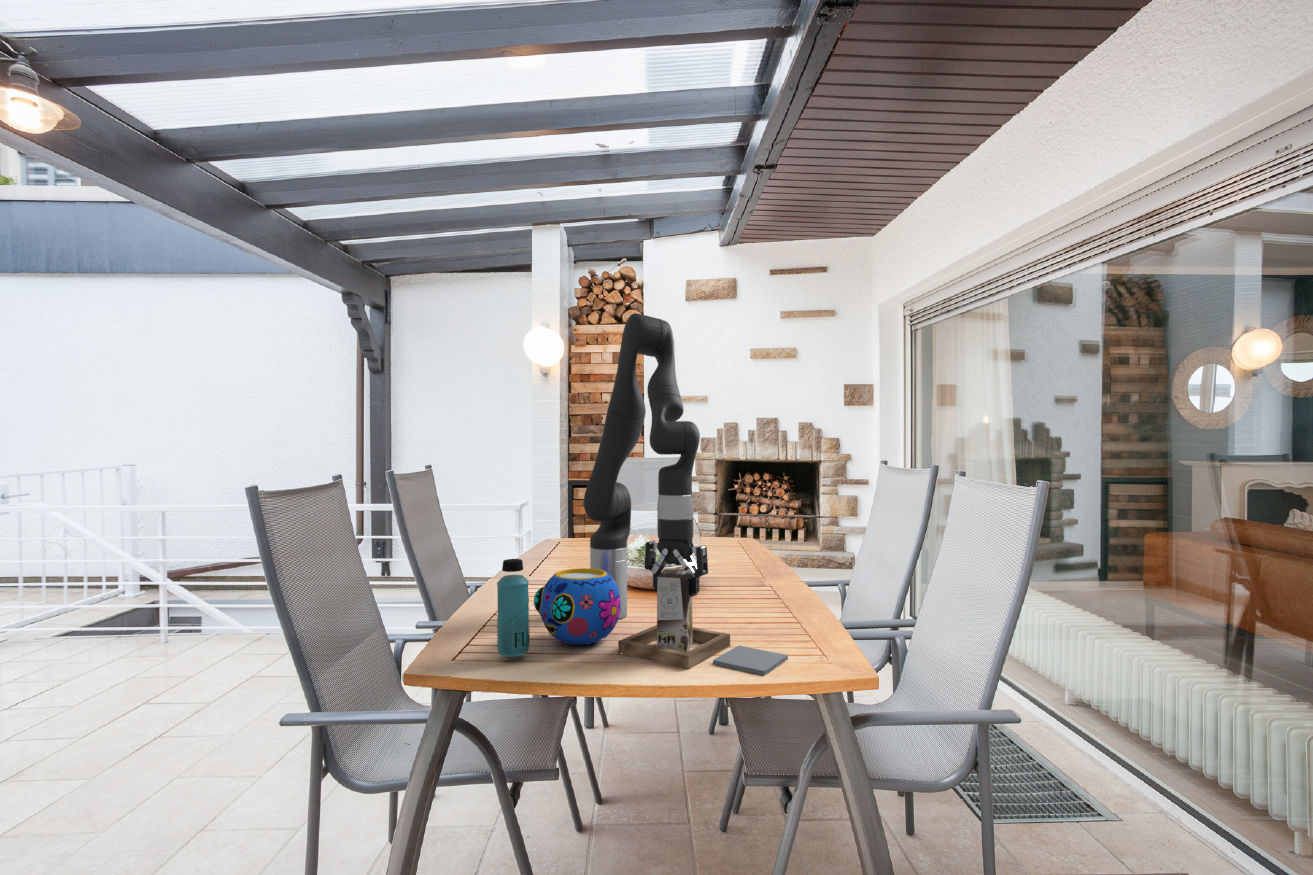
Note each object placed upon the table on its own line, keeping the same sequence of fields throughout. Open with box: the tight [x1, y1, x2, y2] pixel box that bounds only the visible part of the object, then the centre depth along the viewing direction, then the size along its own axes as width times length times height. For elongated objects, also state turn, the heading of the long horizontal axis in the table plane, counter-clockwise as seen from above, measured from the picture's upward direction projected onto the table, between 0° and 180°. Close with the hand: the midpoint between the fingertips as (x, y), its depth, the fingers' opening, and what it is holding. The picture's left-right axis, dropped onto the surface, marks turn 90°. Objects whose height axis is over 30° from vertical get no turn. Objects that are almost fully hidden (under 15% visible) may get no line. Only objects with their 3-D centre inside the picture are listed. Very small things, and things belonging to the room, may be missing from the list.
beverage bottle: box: [496, 558, 531, 657], centre depth 131 cm, size 6×7×20 cm
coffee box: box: [656, 568, 693, 652], centre depth 137 cm, size 9×6×16 cm
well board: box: [617, 624, 731, 670], centre depth 137 cm, size 17×17×2 cm
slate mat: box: [712, 645, 789, 676], centre depth 129 cm, size 11×11×1 cm
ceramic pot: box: [533, 567, 621, 646], centre depth 142 cm, size 18×18×15 cm
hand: (675, 593), depth 137 cm, fingers open, 8 cm apart
